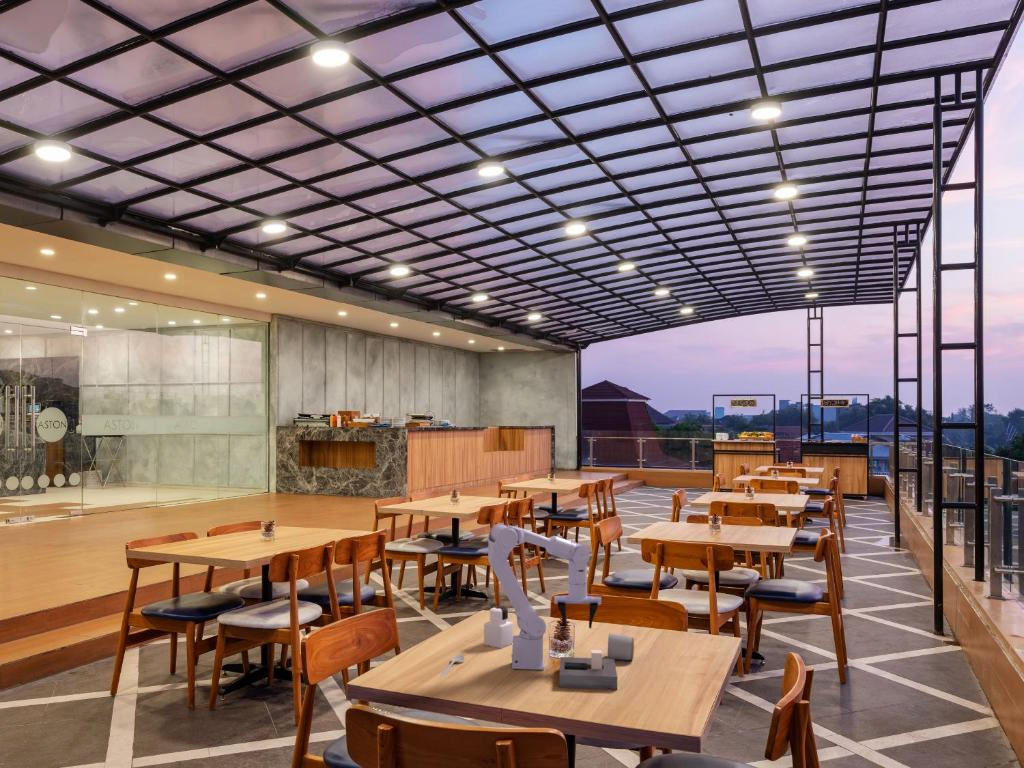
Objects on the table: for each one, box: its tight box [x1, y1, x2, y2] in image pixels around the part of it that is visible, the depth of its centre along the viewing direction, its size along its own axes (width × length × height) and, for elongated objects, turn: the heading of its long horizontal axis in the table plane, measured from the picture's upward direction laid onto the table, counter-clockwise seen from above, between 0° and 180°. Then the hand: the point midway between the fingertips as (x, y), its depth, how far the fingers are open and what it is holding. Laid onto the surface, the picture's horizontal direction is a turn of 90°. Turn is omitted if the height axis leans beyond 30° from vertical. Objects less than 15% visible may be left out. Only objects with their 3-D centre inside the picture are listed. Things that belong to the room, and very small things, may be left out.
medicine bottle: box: [483, 606, 514, 649], centre depth 253 cm, size 7×7×12 cm
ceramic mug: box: [606, 632, 635, 661], centre depth 240 cm, size 11×8×8 cm
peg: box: [590, 649, 603, 669], centre depth 219 cm, size 6×6×8 cm
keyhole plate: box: [559, 656, 618, 691], centre depth 220 cm, size 16×16×4 cm
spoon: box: [439, 653, 466, 678], centre depth 228 cm, size 4×21×2 cm, turn 165°
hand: (577, 627), depth 236 cm, fingers open, 7 cm apart
